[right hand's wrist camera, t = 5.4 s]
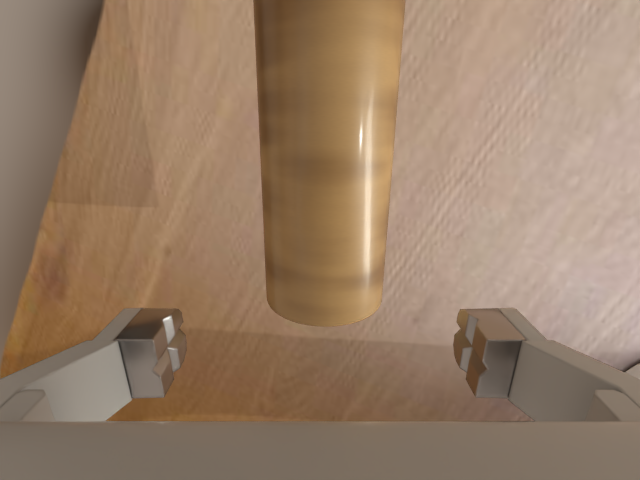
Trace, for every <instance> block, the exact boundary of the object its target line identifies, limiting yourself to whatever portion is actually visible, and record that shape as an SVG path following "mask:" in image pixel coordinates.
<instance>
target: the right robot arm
mask: <svg viewBox="0 0 640 480" xmlns="http://www.w3.org/2000/svg"><path fill="white" fill-rule="evenodd" d="M182 323H183V317H182V312H181V311H180V310H179V309H164V308H126V309H123V310H122V311H121V312H120V313H119V314H118V315H117V316H116V317H115V318H114V319H113V320H112V321H111V322H110V323H109V324H108V325H107V326H106V327H105V328H104V329H103V330H102V331H101V332H100V333H99V334H98V335H97V336H96V337H95V338H94V339H93V340H92V341H85V342H82V343H80V344H78V345H76V346H73V347H71V348H69V349H67V350H64V351H62V352H60V353H58V354H55V355H53V356H51V357H49V358H47V359H44V360H42V361H40V362H38V363H35V364H33V365H31V366H29V367H26V368H24V369H22V370H20V371H17V372H15V373H13V374H11V375H8V376H6V377H4V378H2V379H0V480H640V363H639V364H637V365H635V366H634V367H632V368H630V369H629V370H627V371H626V372H622V371H620V370H618V369H616V368H613V367H611V366H609V365H607V364H605V363H602V362H600V361H598V360H596V359H593V358H591V357H589V356H587V355H584V354H582V353H580V352H578V351H575V350H573V349H571V348H569V347H567V346H564V345H562V344H560V343H558V342H555V341H548V340H547V339H546V338H545V337H544V336H543V335H542V334H541V333H540V332H539V331H538V330H537V329H536V328H535V327H534V326H533V325H532V324H531V323H530V322H529V321H528V320H527V319H526V318H525V317H524V316H523V315H522V314H521V313H520V312H519V311H518V310H517V309H514V308H492V309H460V311H459V313H458V317H457V323H458V325H459V327H460V328H461V329H460V330H459V331H458V332H457V333H456V334H455V335H454V343H453V347H454V355H455V359H456V362H457V364H458V365H459V367H460V368H461V369H462V370H464V371H465V372H467V375H466V380H467V382H468V384H469V386H470V388H471V389H472V391H473V393H474V395H475V397H479V398H508V400H509V401H510V402H511V403H513V404H514V405H515V406H517V407H518V408H519V409H520V410H522V411H523V412H524V413H525V414H527V415H528V416H529V417H530V418H532V419H533V420H534V421H106V420H107V419H108V418H110V417H111V416H112V415H113V414H115V413H116V412H117V411H119V410H120V409H121V408H122V407H124V406H125V405H126V404H127V403H129V402H130V401H131V400H132V398H160V397H165V395H166V393H167V391H168V389H169V388H170V386H171V384H172V382H173V380H174V375H173V372H175V371H176V370H178V369H179V368H180V367H181V365H182V363H183V362H184V359H185V354H186V344H187V342H186V335H185V334H184V333H183V332H182V331H181V330H180V329H179V328H180V327H181V325H182Z"/></svg>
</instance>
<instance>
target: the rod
mask: <svg viewBox="0 0 640 480" xmlns="http://www.w3.org/2000/svg"><path fill="white" fill-rule="evenodd" d="M253 2H254V24H255V46H256V68H257V91H258V113H259V135H260V157H261V180H262V202H263V224H264V246H265V268H266V291H267V301H268V304H269V305H270V307H271V308H272V309H273V310H274V311H275V312H276V313H277V314H279V315H280V316H282V317H284V318H285V319H288V320H290V321H293V322H296V323H300V324H305V325H311V326H323V327H328V326H342V325H347V324H352V323H355V322H358V321H361V320H364V319H365V318H367V317H369V316H371V315H372V314H373V313H375V312H376V311H377V309H378V308H379V306H380V304H381V302H382V290H383V277H384V265H385V252H386V239H387V227H388V214H389V201H390V189H391V176H392V164H393V151H394V138H395V126H396V113H397V101H398V88H399V75H400V63H401V50H402V38H403V25H404V12H405V0H253Z"/></svg>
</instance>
